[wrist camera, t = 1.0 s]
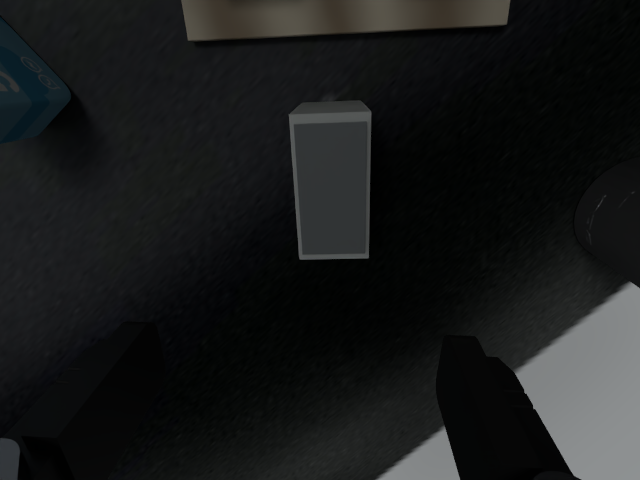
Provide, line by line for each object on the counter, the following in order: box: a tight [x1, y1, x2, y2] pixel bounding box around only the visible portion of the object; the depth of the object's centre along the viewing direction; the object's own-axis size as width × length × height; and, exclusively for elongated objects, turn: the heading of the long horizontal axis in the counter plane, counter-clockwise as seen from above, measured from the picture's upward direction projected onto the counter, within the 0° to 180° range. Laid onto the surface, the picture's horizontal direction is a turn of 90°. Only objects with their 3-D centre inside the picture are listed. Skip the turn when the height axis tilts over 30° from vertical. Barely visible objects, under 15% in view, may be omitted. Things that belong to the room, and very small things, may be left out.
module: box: [289, 100, 371, 260], centre depth 26 cm, size 4×9×9 cm, turn 2°
